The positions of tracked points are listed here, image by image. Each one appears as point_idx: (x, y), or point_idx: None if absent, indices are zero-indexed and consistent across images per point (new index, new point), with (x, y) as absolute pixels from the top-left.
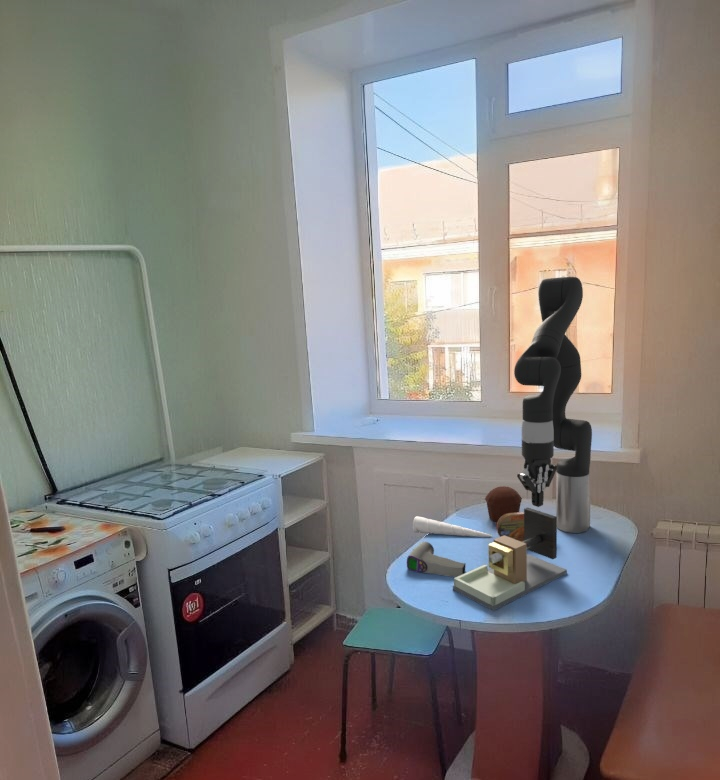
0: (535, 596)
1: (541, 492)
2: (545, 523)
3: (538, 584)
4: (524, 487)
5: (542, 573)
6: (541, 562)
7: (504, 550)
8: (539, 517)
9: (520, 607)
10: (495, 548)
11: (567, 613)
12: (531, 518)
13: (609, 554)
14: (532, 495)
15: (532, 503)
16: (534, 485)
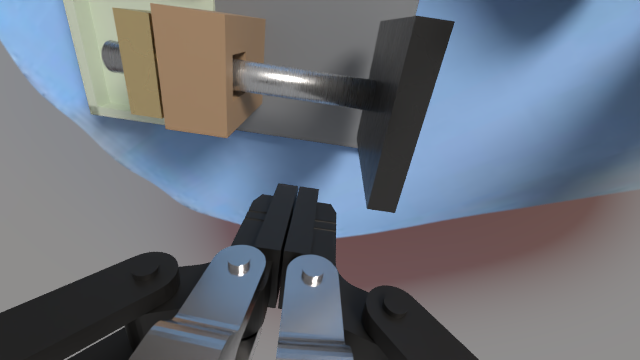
0: (232, 145)
1: (280, 306)
2: (373, 154)
3: (268, 133)
4: (94, 276)
5: (322, 115)
6: None
7: (131, 97)
8: (383, 128)
9: (171, 143)
10: (122, 51)
11: (227, 216)
12: (391, 73)
13: (543, 180)
14: (237, 240)
15: (259, 199)
16: (285, 286)
